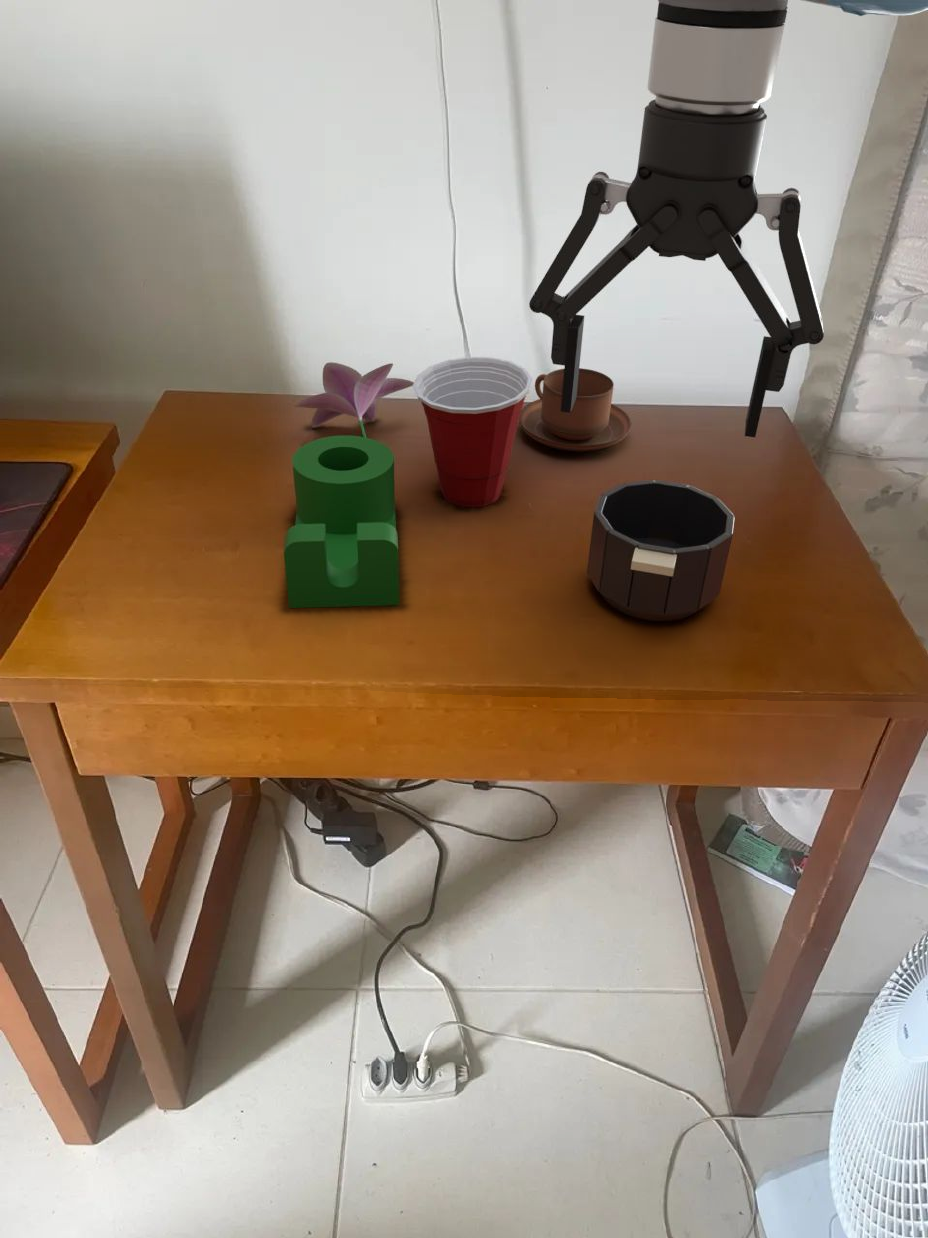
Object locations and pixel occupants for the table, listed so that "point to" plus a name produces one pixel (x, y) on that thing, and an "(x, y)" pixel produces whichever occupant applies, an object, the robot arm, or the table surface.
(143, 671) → the table surface
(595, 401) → the cup and saucer
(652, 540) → the cooking pot
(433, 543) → the table surface
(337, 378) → the lily
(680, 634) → the table surface
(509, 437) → the plastic cup
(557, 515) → the table surface
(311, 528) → the green bracket
